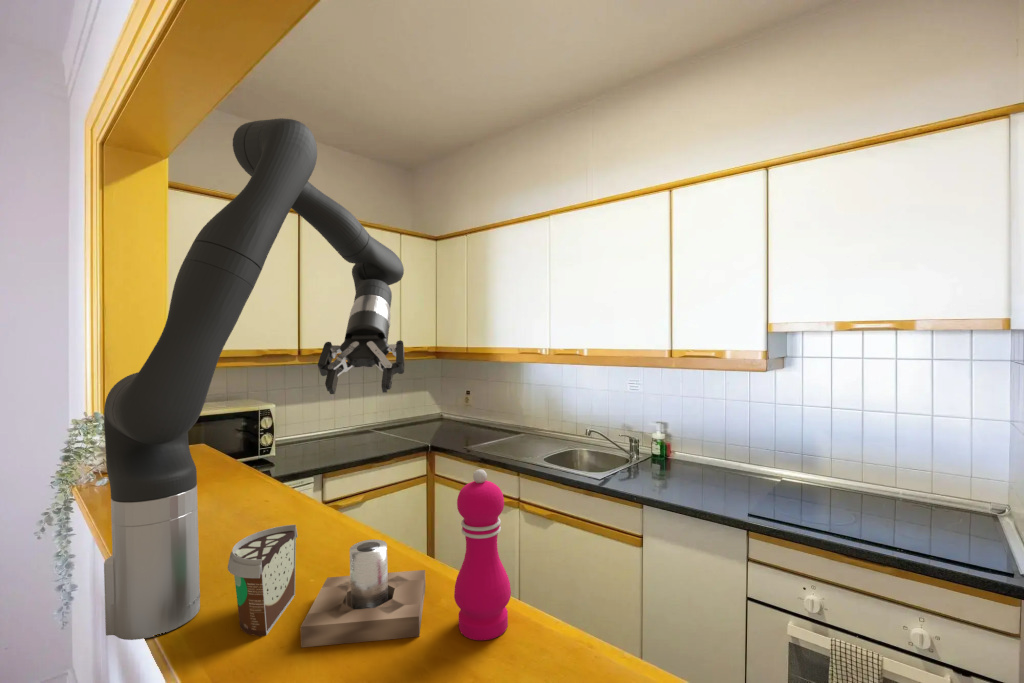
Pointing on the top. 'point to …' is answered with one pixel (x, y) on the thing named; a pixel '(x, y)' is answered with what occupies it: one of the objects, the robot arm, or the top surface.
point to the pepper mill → (481, 562)
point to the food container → (264, 577)
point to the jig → (365, 612)
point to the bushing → (368, 574)
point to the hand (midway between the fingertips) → (358, 390)
